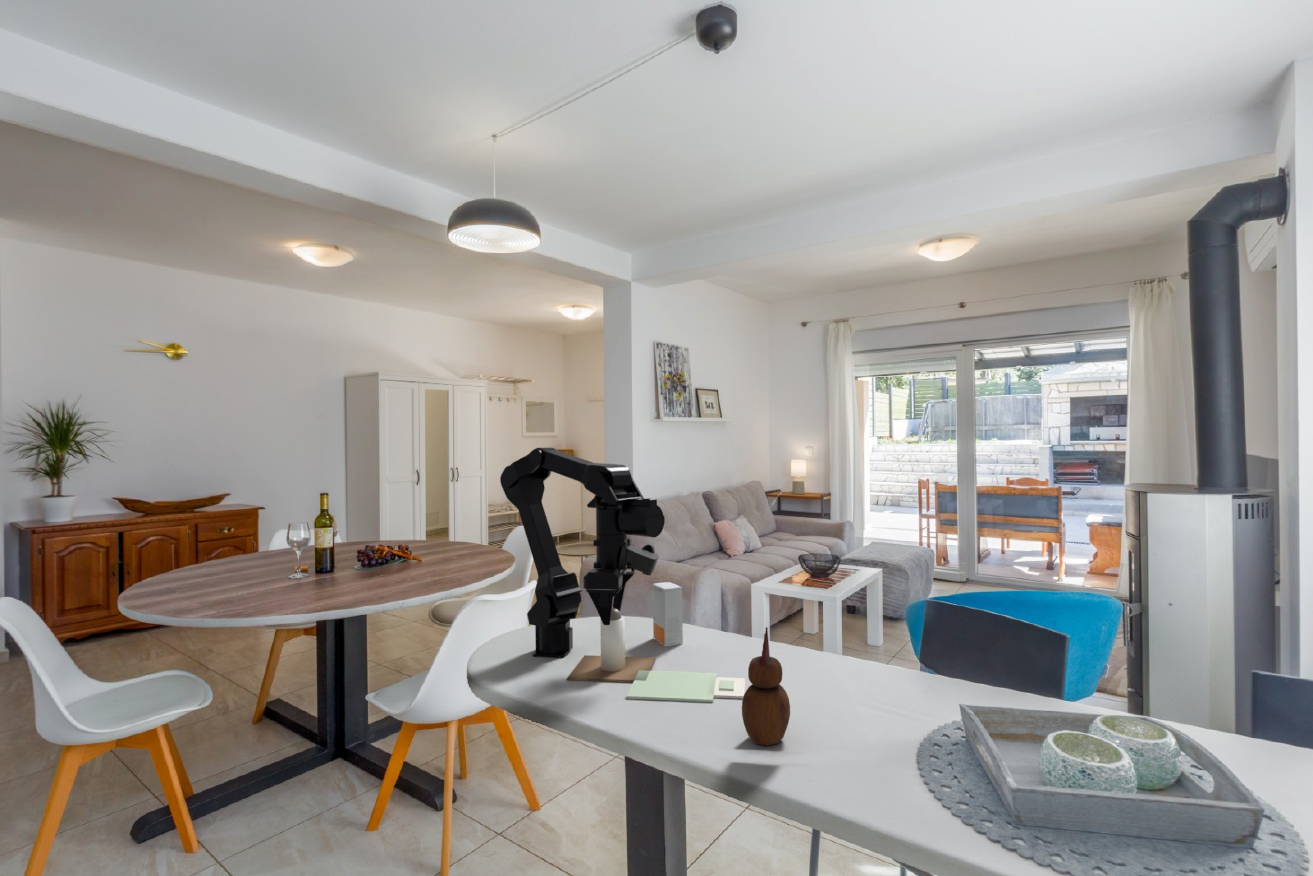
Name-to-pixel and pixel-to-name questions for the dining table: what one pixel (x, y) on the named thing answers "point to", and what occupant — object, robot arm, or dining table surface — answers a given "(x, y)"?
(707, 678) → the green mat
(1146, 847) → the dining table surface
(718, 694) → the card
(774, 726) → the wooden figurine
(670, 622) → the skincare box
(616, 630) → the bottle
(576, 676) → the walnut mat
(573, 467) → the robot arm
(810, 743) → the dining table surface
